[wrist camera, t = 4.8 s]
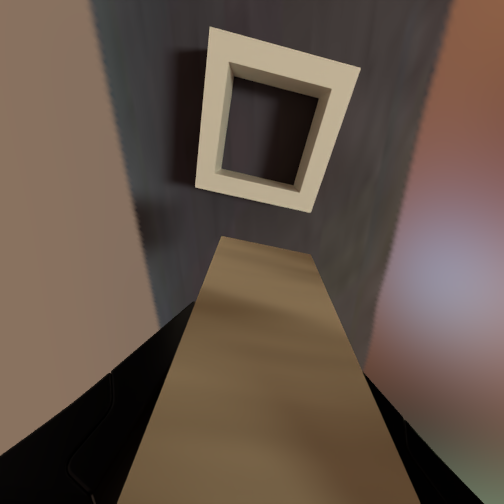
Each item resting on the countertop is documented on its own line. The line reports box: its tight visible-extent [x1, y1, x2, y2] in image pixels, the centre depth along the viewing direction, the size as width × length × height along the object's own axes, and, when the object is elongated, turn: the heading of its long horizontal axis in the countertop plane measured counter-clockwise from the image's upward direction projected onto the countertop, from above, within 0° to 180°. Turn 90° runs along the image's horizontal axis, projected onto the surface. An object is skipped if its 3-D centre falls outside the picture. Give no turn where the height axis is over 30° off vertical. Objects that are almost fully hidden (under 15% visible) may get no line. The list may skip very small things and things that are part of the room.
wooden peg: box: [117, 236, 421, 504], centre depth 6 cm, size 4×4×9 cm
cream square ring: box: [195, 27, 361, 213], centre depth 15 cm, size 8×8×3 cm
